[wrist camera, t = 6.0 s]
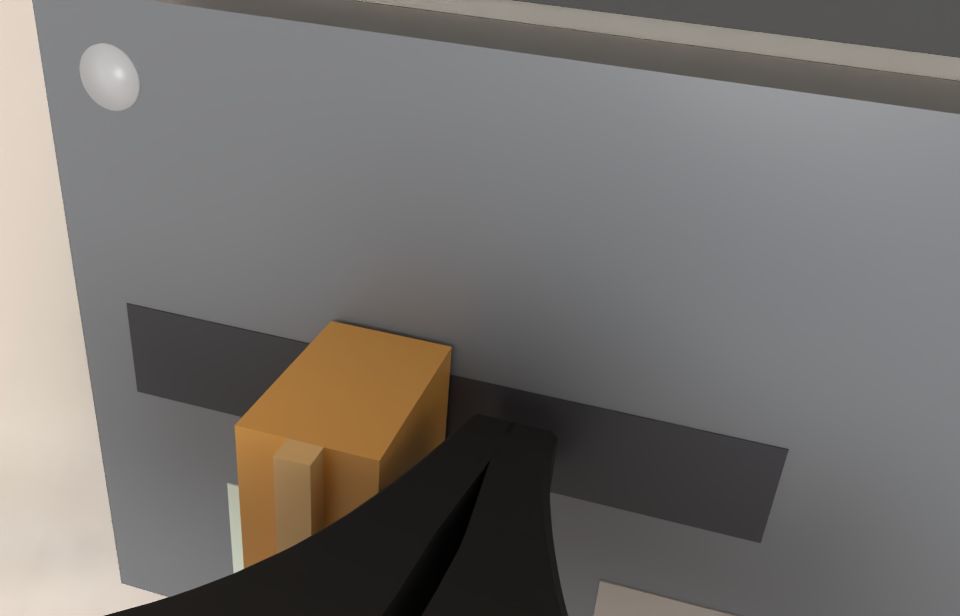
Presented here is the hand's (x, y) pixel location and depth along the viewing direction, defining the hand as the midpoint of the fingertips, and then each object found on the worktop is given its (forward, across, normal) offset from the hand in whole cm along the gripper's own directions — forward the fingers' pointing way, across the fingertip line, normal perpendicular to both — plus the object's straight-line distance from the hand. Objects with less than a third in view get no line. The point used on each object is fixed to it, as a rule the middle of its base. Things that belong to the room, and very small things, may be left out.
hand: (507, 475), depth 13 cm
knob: (+1, +2, 0) cm, 2 cm away
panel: (+3, 0, 0) cm, 3 cm away
